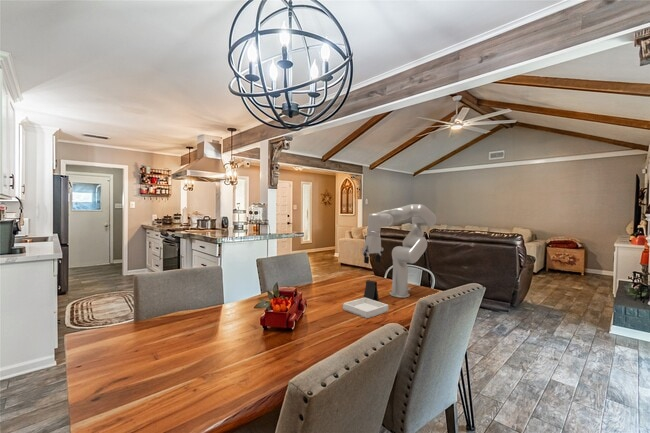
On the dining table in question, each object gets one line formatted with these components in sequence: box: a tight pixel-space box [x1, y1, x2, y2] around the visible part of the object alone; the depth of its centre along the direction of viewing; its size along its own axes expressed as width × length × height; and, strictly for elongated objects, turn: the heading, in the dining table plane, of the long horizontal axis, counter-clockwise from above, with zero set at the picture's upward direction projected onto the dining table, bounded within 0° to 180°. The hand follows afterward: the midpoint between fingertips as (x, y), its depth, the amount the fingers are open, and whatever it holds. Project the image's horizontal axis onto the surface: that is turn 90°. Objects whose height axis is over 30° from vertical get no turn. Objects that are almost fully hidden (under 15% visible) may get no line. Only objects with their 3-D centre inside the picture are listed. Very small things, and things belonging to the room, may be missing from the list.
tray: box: [342, 296, 390, 320], centre depth 164 cm, size 18×17×4 cm
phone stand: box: [362, 279, 380, 301], centre depth 182 cm, size 9×6×12 cm, turn 140°
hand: (372, 262), depth 180 cm, fingers open, 9 cm apart
